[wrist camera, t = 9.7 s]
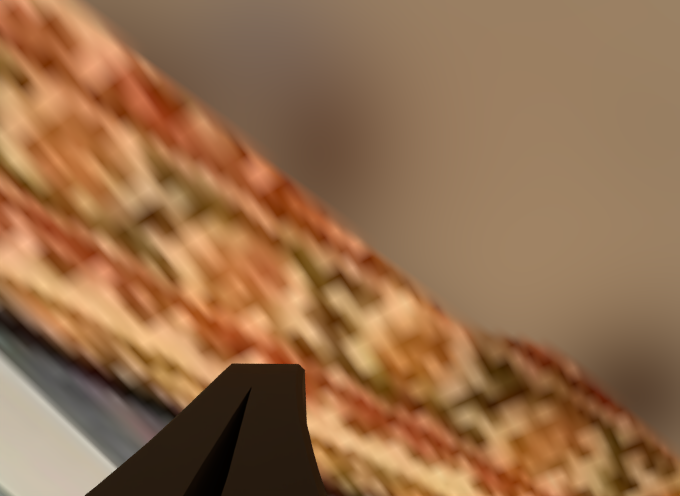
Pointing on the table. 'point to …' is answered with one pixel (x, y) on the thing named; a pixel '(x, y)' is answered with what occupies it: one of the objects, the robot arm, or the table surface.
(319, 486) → the robot arm
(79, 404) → the table surface
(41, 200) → the table surface
